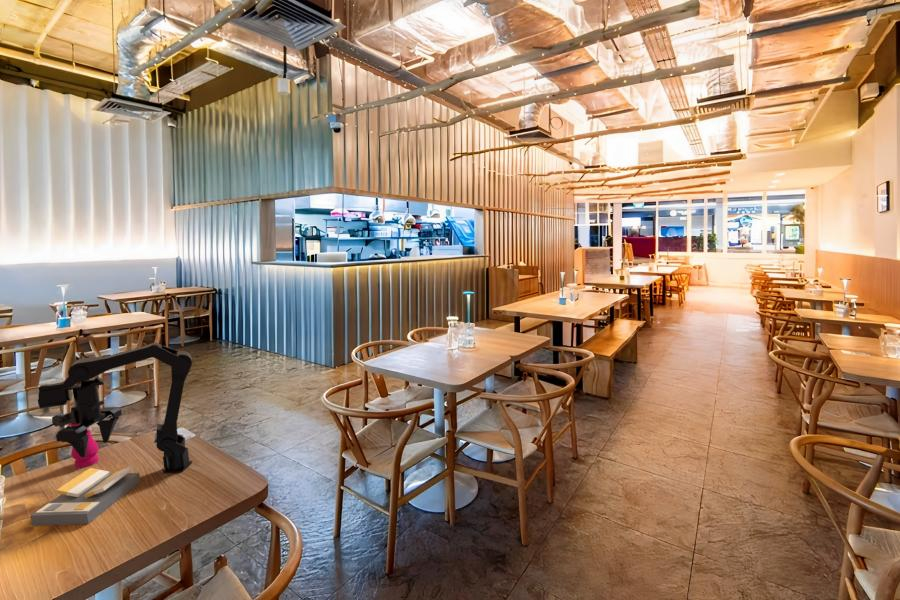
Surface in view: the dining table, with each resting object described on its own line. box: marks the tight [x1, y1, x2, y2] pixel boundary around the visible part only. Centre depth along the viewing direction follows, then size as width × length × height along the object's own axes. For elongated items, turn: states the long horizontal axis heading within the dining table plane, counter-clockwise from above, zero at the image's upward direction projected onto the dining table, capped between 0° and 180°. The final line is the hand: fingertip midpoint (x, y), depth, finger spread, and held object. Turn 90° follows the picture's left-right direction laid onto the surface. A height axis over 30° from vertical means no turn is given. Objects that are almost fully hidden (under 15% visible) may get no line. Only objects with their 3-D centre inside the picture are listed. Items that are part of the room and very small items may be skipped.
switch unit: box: [30, 472, 141, 527], centre depth 127 cm, size 15×20×4 cm
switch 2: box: [84, 465, 135, 498], centre depth 130 cm, size 6×12×1 cm, turn 179°
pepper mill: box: [69, 423, 100, 469], centre depth 149 cm, size 7×7×20 cm
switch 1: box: [55, 467, 110, 497], centre depth 130 cm, size 6×12×1 cm, turn 2°
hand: (94, 449), depth 133 cm, fingers open, 9 cm apart
